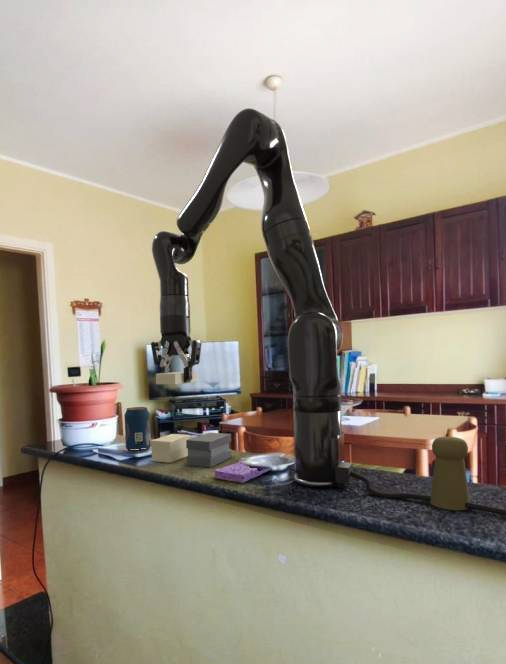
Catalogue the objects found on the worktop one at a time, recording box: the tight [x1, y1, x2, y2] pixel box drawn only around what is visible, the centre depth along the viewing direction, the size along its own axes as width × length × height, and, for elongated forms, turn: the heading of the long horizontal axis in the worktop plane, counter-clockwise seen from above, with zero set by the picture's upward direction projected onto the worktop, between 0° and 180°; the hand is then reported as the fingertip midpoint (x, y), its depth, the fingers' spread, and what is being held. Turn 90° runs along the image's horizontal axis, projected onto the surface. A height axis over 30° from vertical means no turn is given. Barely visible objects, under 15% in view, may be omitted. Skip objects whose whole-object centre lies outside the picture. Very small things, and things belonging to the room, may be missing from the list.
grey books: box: [186, 432, 232, 468], centre depth 105 cm, size 7×11×6 cm, turn 153°
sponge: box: [214, 459, 272, 484], centre depth 92 cm, size 7×13×2 cm, turn 145°
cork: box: [428, 436, 471, 511], centre depth 70 cm, size 6×6×11 cm
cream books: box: [150, 433, 191, 464], centre depth 110 cm, size 6×10×5 cm, turn 153°
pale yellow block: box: [155, 371, 197, 386], centre depth 108 cm, size 6×10×3 cm, turn 153°
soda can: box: [123, 406, 152, 454], centre depth 120 cm, size 7×7×12 cm
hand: (176, 381), depth 108 cm, fingers closed on pale yellow block, 5 cm apart
